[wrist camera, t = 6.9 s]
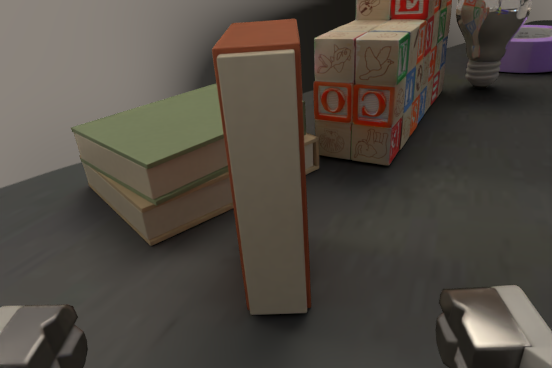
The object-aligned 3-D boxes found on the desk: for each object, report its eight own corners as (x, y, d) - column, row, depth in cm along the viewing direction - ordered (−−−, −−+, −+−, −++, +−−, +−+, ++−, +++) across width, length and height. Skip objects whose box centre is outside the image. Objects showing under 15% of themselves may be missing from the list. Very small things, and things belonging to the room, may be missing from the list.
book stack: (237, 134, 41) (230, 79, 38) (322, 169, 33) (321, 103, 30) (85, 187, 33) (64, 122, 30) (149, 251, 25) (128, 171, 22)
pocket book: (306, 234, 25) (296, 18, 20) (311, 316, 20) (300, 45, 14) (255, 236, 25) (231, 23, 20) (246, 319, 20) (209, 51, 14)
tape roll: (469, 72, 54) (474, 40, 52) (472, 52, 63) (476, 25, 61) (580, 75, 49) (589, 40, 47) (565, 53, 59) (572, 24, 57)
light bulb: (527, 86, 47) (552, -36, 41) (494, 101, 44) (517, -31, 38) (468, 76, 52) (484, -34, 46) (434, 89, 49) (446, -29, 43)
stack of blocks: (391, 169, 32) (402, -12, 26) (314, 157, 35) (308, -9, 29) (443, 89, 48) (456, -33, 42) (387, 86, 51) (393, -30, 45)
